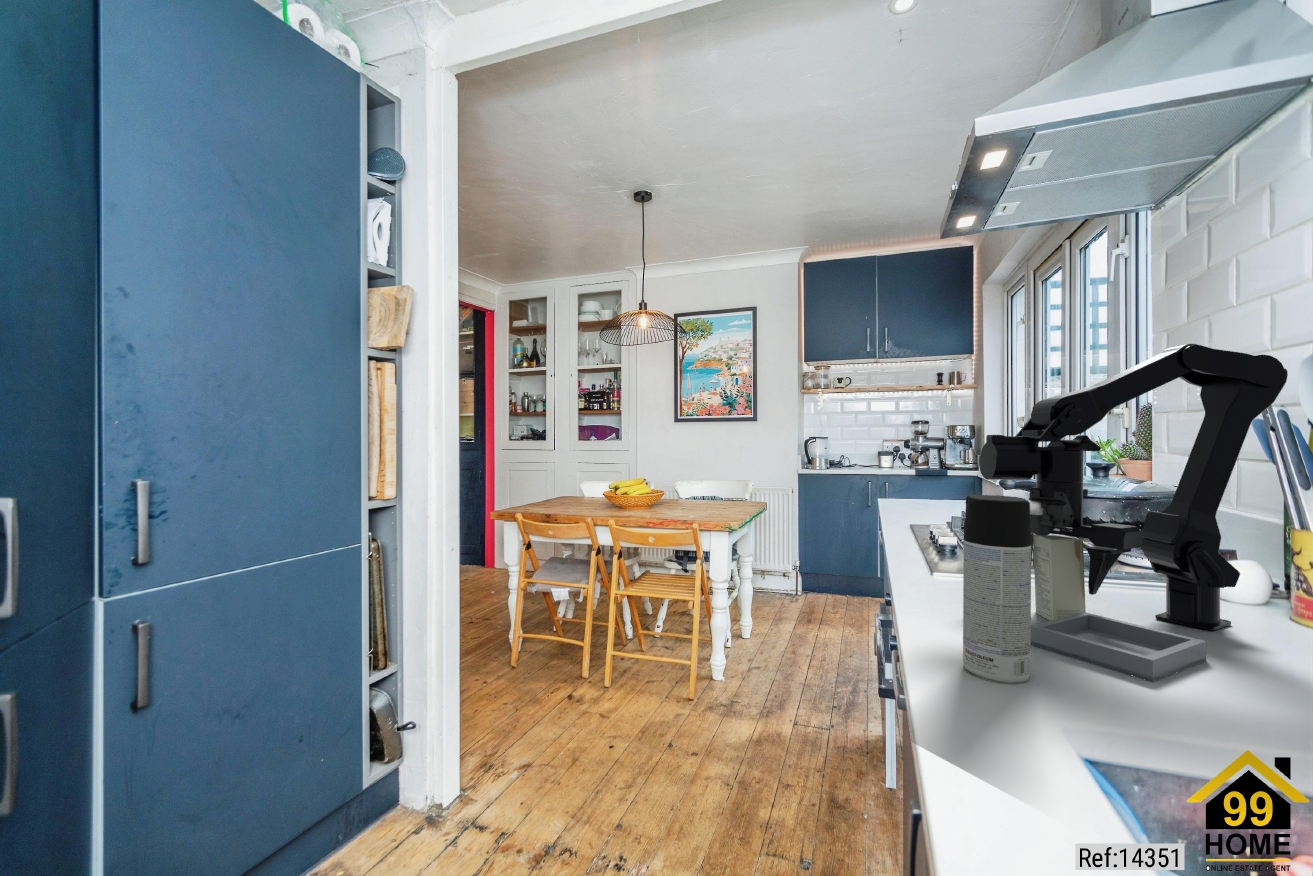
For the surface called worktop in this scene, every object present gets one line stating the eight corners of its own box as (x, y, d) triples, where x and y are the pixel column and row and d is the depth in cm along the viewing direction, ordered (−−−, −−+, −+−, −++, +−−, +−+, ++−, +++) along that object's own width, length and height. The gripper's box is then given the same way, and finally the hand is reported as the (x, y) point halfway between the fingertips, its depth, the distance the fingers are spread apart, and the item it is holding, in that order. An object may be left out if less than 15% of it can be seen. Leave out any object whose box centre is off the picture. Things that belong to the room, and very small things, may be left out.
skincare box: (1087, 626, 82) (1086, 540, 82) (1053, 624, 83) (1051, 539, 83) (1065, 613, 88) (1063, 533, 88) (1033, 611, 89) (1032, 532, 89)
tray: (1084, 630, 80) (1084, 612, 80) (1206, 662, 69) (1206, 641, 69) (1029, 645, 74) (1029, 626, 74) (1152, 683, 63) (1152, 660, 63)
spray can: (1022, 666, 67) (1021, 495, 68) (1039, 689, 61) (1039, 501, 61) (958, 659, 70) (958, 493, 70) (968, 681, 63) (968, 499, 63)
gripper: (965, 478, 90) (963, 577, 90) (1102, 488, 73) (1100, 610, 73) (1008, 477, 95) (1007, 571, 95) (1145, 486, 79) (1144, 600, 79)
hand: (1057, 586), depth 85 cm, fingers open, 9 cm apart
